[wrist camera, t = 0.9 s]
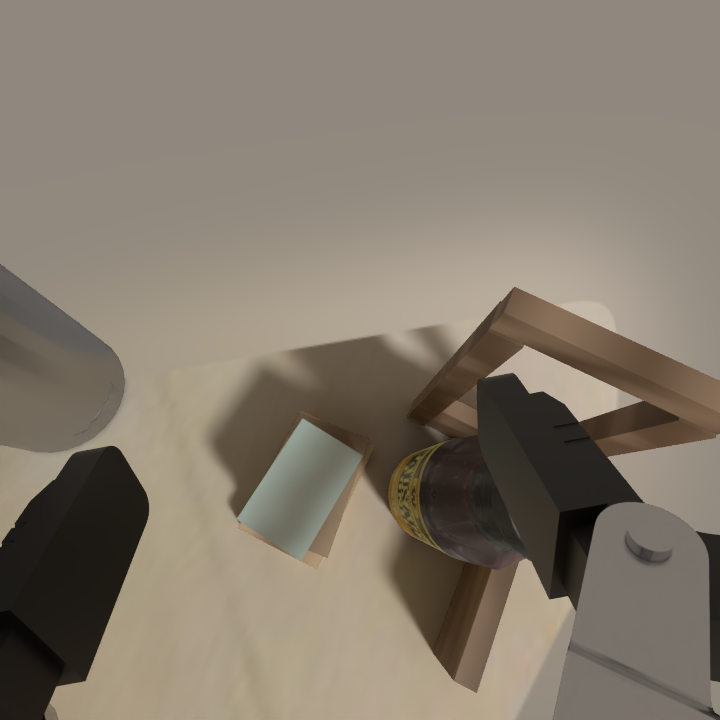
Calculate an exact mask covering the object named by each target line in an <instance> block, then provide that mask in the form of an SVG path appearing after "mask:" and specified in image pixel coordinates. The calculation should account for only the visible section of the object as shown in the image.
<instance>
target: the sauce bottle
mask: <svg viewBox="0 0 720 720" xmlns="http://www.w3.org/2000/svg"><path fill="white" fill-rule="evenodd" d="M388 498H389V505H390V509H391V511H392V514H393V516H394V518H395V520H396V521H397V523H398V524H399V525H400V526H401V528H402V529H403V530H405V531H406V532H407V533H408V534H410V535H411V536H413V537H415V538H417V539H418V540H421V541H423V542H424V543H426V544H428V545H430V546H432V547H434V548H436V549H438V550H440V551H442V552H443V553H445V554H447V555H449V556H451V557H453V558H455V559H458V560H461V561H465V562H469V563H472V564H476V565H480V566H483V567H487V568H491V569H494V570H500V569H502V568H505V567H507V566H509V565H512V564H514V563H517V562H519V561H521V560H523V559H526V558H527V559H528V560H530V561H531V559H530V557H529V555H528V553H527V551H526V548H525V546H524V544H523V542H522V540H521V538H520V536H519V533H518V531H517V529H516V527H515V525H514V523H513V521H512V518H511V516H510V514H509V512H508V510H507V508H506V505H505V503H504V501H503V499H502V497H501V495H500V493H499V490H498V488H497V486H496V484H495V482H494V480H493V478H492V475H491V473H490V471H489V469H488V467H487V465H486V463H485V460H484V458H483V455H482V452H481V448H480V444H479V439H478V435H474V436H470V437H460V438H454V439H451V440H448V441H445V442H442V443H439V444H436V445H434V446H431V447H428V448H425V449H423V450H420V451H417V452H415V453H412V454H411V455H409V456H407V457H406V458H404V459H403V460H402V461H401V462H400V463H399V464H398V466H397V467H396V469H395V470H394V472H393V474H392V477H391V480H390V483H389V490H388Z"/></svg>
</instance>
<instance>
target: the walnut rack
mask: <svg viewBox="0 0 720 720" xmlns="http://www.w3.org/2000/svg"><path fill="white" fill-rule="evenodd" d="M524 345H526V346H528V347H530V348H532V349H535V350H537V351H539V352H541V353H543V354H545V355H547V356H550V357H552V358H554V359H556V360H558V361H560V362H562V363H565V364H567V365H569V366H571V367H573V368H575V369H577V370H580V371H582V372H584V373H586V374H588V375H590V376H592V377H595V378H597V379H599V380H601V381H603V382H605V383H607V384H610V385H612V386H614V387H616V388H618V389H620V390H622V391H625V392H627V393H629V394H631V395H633V396H635V397H637V398H640V399H642V400H644V401H642V402H639V403H636V404H633V405H630V406H627V407H624V408H620V409H617V410H614V411H611V412H608V413H605V414H602V415H599V416H596V417H593V418H590V419H587V420H584V421H581V422H579V425H582V427H583V428H584V429H585V430H586V432H587V433H588V434H589V435H590V438H591V440H594V442H595V443H596V444H597V445H598V447H599V448H600V449H601V450H602V452H603V453H604V454H605V455H606V456H607V457H609V456H614V455H620V454H626V453H631V452H637V451H643V450H648V449H655V448H660V447H666V446H672V445H678V444H683V443H688V442H695V441H701V440H706V439H712V438H716V434H720V381H719V380H717V379H714V378H712V377H710V376H708V375H706V374H704V373H701V372H699V371H697V370H695V369H693V368H690V367H688V366H686V365H684V364H682V363H679V362H677V361H675V360H673V359H671V358H669V357H666V356H664V355H662V354H660V353H658V352H655V351H653V350H651V349H649V348H647V347H645V346H642V345H640V344H638V343H636V342H633V341H632V340H629V339H627V338H625V337H623V336H621V335H618V334H616V333H614V332H612V331H610V330H608V329H605V328H603V327H601V326H599V325H597V324H594V323H592V322H590V321H588V320H586V319H584V318H581V317H579V316H577V315H575V314H573V313H570V312H568V311H566V310H564V309H562V308H560V307H557V306H555V305H553V304H551V303H549V302H546V301H544V300H542V299H540V298H538V297H536V296H533V295H531V294H529V293H527V292H524V291H522V290H520V289H518V288H516V287H514V288H513V289H512V290H511V291H510V292H509V294H508V295H507V296H506V297H505V298H504V300H503V301H502V302H501V301H500V302H499V304H498V305H497V306H496V307H495V308H494V310H492V312H491V313H490V314H489V315H488V316H487V317H486V318H485V320H484V321H483V322H482V323H481V324H480V325H479V327H478V328H477V329H476V330H475V331H474V332H473V333H472V335H471V336H470V337H469V338H468V339H467V340H466V342H465V343H464V344H463V345H462V346H461V347H460V348H459V350H458V351H457V352H456V353H455V354H454V355H453V357H452V358H451V359H450V360H449V361H448V362H447V363H446V365H445V366H444V367H443V368H442V369H441V370H440V372H439V373H438V374H437V375H436V376H435V377H434V378H433V380H432V381H431V382H430V383H429V384H428V385H427V386H426V388H425V389H424V390H423V391H422V392H421V393H420V395H419V396H418V397H417V398H416V399H415V400H414V402H413V404H412V407H411V409H410V411H409V413H408V416H407V418H409V419H411V420H413V421H415V422H417V423H419V424H421V425H423V426H425V425H427V426H429V427H432V428H434V429H436V430H438V431H440V432H442V433H444V434H446V435H448V436H450V437H452V438H460V437H470V436H474V435H478V422H477V410H476V409H474V408H472V407H470V406H468V405H466V404H464V403H462V402H460V401H457V399H459V398H460V397H461V396H463V395H464V394H465V393H466V392H468V391H469V390H470V389H471V388H473V387H474V386H475V385H476V384H477V381H478V380H479V379H483V378H485V377H487V376H488V375H489V374H490V373H492V372H493V371H494V370H495V369H497V368H498V367H499V366H500V365H502V364H503V363H504V362H505V361H507V360H508V359H509V358H511V357H512V356H513V355H514V354H516V353H517V352H518V351H519V350H521V349H522V348H523V346H524ZM518 563H519V562H517V563H514V564H512V565H509V566H507V567H505V568H502V569H500V570H494V569H491V568H487V567H483V566H480V565H476V564H472V563H469V562H466V563H465V566H464V569H463V571H462V574H461V577H460V580H459V582H458V585H457V588H456V591H455V594H454V596H453V599H452V602H451V605H450V607H449V610H448V613H447V616H446V619H445V621H444V624H443V627H442V630H441V632H440V635H439V638H438V641H437V644H436V646H435V649H434V652H433V654H434V655H435V656H436V658H437V659H438V660H439V662H440V663H441V664H442V666H443V667H444V668H445V670H446V671H447V672H448V674H449V675H450V676H451V678H452V679H453V680H454V681H455V682H457V683H459V684H461V685H463V686H465V687H466V688H468V689H470V690H472V691H474V692H476V693H477V690H478V687H479V684H480V681H481V678H482V675H483V672H484V669H485V666H486V662H487V659H488V656H489V653H490V650H491V647H492V644H493V641H494V638H495V634H496V631H497V628H498V625H499V622H500V619H501V616H502V613H503V610H504V606H505V603H506V600H507V597H508V594H509V591H510V588H511V585H512V582H513V579H514V575H515V572H516V569H517V566H518Z"/></svg>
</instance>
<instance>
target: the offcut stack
mask: <svg viewBox="0 0 720 720" xmlns="http://www.w3.org/2000/svg"><path fill="white" fill-rule="evenodd" d="M368 442H369V438H366V437H363V436H361V435H358V434H355V433H353V432H350V431H347V430H345V429H342V428H339V427H337V426H334V425H331V424H329V423H326V422H324V421H322V420H320V419H318V418H316V417H314V416H312V415H310V414H308V413H306V412H304V411H302V410H301V411H300V413H299V414H298V417H297V419H296V421H295V423H294V424H293V426H292V428H291V430H290V432H289V434H288V435H287V437H286V439H285V441H284V443H283V445H282V447H281V448H280V450H279V452H278V454H277V456H276V458H275V459H274V461H273V463H272V465H271V467H270V469H269V470H268V472H267V473H266V475H265V476H264V478H263V480H262V481H261V483H260V484H259V486H258V487H257V489H256V490H255V492H254V493H253V495H252V496H251V498H250V499H249V501H248V502H247V504H246V506H245V507H244V509H243V510H242V512H241V513H240V515H239V516H238V518H237V520H238V521H240V524H239V526H238V528H239V529H241V530H242V531H244V532H246V533H248V534H250V535H252V536H254V537H256V538H258V539H260V540H261V541H263V542H265V543H267V544H269V545H271V546H273V547H275V548H277V549H279V550H280V551H282V552H284V553H286V554H288V555H290V556H292V557H294V558H296V559H298V560H299V561H301V562H303V563H305V564H307V565H309V566H311V567H313V568H315V569H317V568H318V566H319V564H320V562H321V560H322V558H323V556H324V557H326V558H328V555H329V552H330V549H331V547H332V544H333V541H334V538H335V535H336V532H337V530H338V527H339V524H340V521H341V518H342V515H343V513H344V511H345V509H346V506H347V504H348V502H349V500H350V498H351V496H352V494H353V491H354V489H355V487H356V485H357V483H358V481H359V479H360V477H361V474H362V472H363V470H364V468H365V466H366V464H367V462H368V459H369V457H370V455H371V453H372V451H373V449H374V446H372V445H370V444H368Z"/></svg>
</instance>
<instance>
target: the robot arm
mask: <svg viewBox="0 0 720 720" xmlns="http://www.w3.org/2000/svg"><path fill="white" fill-rule="evenodd" d="M124 384H125V379H124V372H123V367H122V365H121V363H120V360H119V358H118V356H117V355H116V354H115V352H114V351H113V350H112V349H111V348H110V347H109V346H108V345H107V344H105V343H104V342H103V341H101V340H100V339H99V338H98V337H96V336H95V335H94V334H92V333H91V332H90V331H88V330H87V329H86V328H84V327H83V326H82V325H80V324H79V323H78V322H77V321H75V320H74V319H73V318H71V317H70V316H68V315H67V314H66V313H65V312H63V311H62V310H61V309H59V308H58V307H57V306H55V305H54V304H53V303H51V302H50V301H49V300H47V299H46V298H45V297H43V296H42V295H40V294H39V293H38V292H37V291H35V290H34V289H33V288H31V287H30V286H29V285H27V284H26V283H24V282H23V281H22V280H21V279H19V278H18V277H17V276H15V275H14V274H13V273H11V272H10V271H9V270H7V269H6V268H5V267H3V266H2V265H1V264H0V445H3V446H8V447H13V448H19V449H24V450H29V451H35V452H50V453H51V452H58V451H64V450H68V449H70V448H73V447H76V446H79V445H81V444H83V443H84V442H86V441H88V440H90V439H91V438H93V437H94V436H95V435H97V434H98V433H99V432H100V431H101V430H103V429H104V428H105V426H106V425H107V424H108V423H109V422H110V420H111V419H112V418H113V417H114V415H115V413H116V411H117V409H118V408H119V406H120V403H121V400H122V397H123V393H124ZM477 422H478V439H479V444H480V448H481V452H482V455H483V458H484V460H485V463H486V465H487V467H488V469H489V471H490V473H491V475H492V478H493V480H494V482H495V484H496V486H497V488H498V490H499V493H500V495H501V497H502V499H503V501H504V503H505V505H506V508H507V510H508V512H509V514H510V516H511V518H512V521H513V523H514V525H515V527H516V529H517V531H518V533H519V536H520V538H521V540H522V542H523V544H524V546H525V548H526V551H527V553H528V555H529V557H530V559H531V561H532V563H533V566H534V568H535V570H536V572H537V574H538V576H539V578H540V581H541V583H542V585H543V587H544V589H545V591H546V594H547V596H548V598H549V599H554V598H560V597H565V596H568V597H569V599H570V601H571V603H572V604H573V606H574V608H575V610H576V616H575V621H574V625H573V630H572V635H571V639H570V644H569V647H568V651H567V655H566V660H565V664H564V669H563V673H562V678H561V682H560V687H559V692H558V696H557V701H556V706H555V711H554V716H553V720H720V716H719V715H718V714H716V713H715V712H714V711H713V708H712V703H711V692H710V680H712V681H718V682H720V535H714V534H707V533H702V532H698V531H695V530H694V529H693V528H692V527H690V526H689V525H688V524H687V523H686V522H684V521H683V520H682V519H680V518H679V517H677V516H676V515H674V514H672V513H670V512H668V511H666V510H664V509H662V508H659V507H656V506H653V505H649V504H645V503H644V502H643V501H642V500H641V499H640V497H639V496H638V495H637V494H636V493H635V491H634V490H633V489H632V488H631V486H630V485H629V484H628V483H627V481H626V480H625V479H624V478H623V476H622V475H621V474H620V473H619V472H618V470H617V469H616V468H615V466H614V465H613V464H612V463H611V461H610V460H609V459H608V458H607V456H606V455H605V454H604V453H603V452H602V450H601V449H600V448H599V447H598V445H597V444H596V443H595V442H594V440H591V438H590V435H589V434H588V433H587V432H586V430H585V429H584V428H583V427H582V425H579V422H578V420H577V419H576V418H575V417H574V416H573V414H572V413H571V412H570V411H569V409H568V408H567V407H566V406H565V404H563V403H561V402H560V401H558V400H556V399H555V398H553V397H551V396H550V395H548V394H546V393H545V392H543V391H542V392H537V393H532V394H529V393H528V391H527V390H526V388H525V387H524V386H523V384H522V383H521V381H520V380H519V379H518V377H517V376H516V375H515V374H514V373H510V374H504V375H499V376H493V377H488V378H483V379H479V380H478V381H477ZM148 516H149V502H148V497H147V494H146V492H145V490H144V489H143V487H142V485H141V484H140V482H139V480H138V479H137V477H136V475H135V474H134V472H133V470H132V469H131V467H130V465H129V464H128V462H127V460H126V459H125V457H124V456H123V454H122V452H121V451H120V450H119V449H118V448H117V447H115V446H108V447H102V448H97V449H91V450H86V451H80V452H76V453H74V454H73V455H72V456H71V457H70V458H69V460H68V461H67V463H66V464H65V466H64V467H63V469H62V470H61V472H60V473H59V475H58V476H57V478H56V479H55V480H53V481H52V482H51V483H50V484H48V485H47V486H46V487H45V488H44V489H43V490H42V491H41V492H40V493H39V494H38V495H36V496H35V497H34V498H33V499H32V500H31V501H30V502H29V504H28V505H27V507H26V508H25V509H24V511H23V512H22V514H21V515H20V517H19V518H18V520H17V521H16V522H15V528H11V530H10V531H9V533H8V534H7V536H6V537H5V538H4V540H3V541H2V547H0V720H58V717H57V713H56V710H55V708H54V707H53V706H52V705H51V704H50V703H49V702H50V700H51V697H52V695H53V693H54V691H55V688H56V686H61V685H67V684H72V683H78V682H83V681H86V678H87V676H88V673H89V670H90V668H91V665H92V663H93V660H94V657H95V655H96V652H97V650H98V647H99V644H100V642H101V639H102V637H103V634H104V632H105V629H106V626H107V624H108V621H109V619H110V616H111V613H112V611H113V608H114V606H115V603H116V601H117V598H118V595H119V593H120V590H121V588H122V585H123V582H124V580H125V577H126V575H127V572H128V569H129V567H130V564H131V562H132V559H133V557H134V554H135V551H136V549H137V546H138V544H139V541H140V538H141V536H142V533H143V531H144V528H145V526H146V523H147V520H148Z"/></svg>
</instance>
